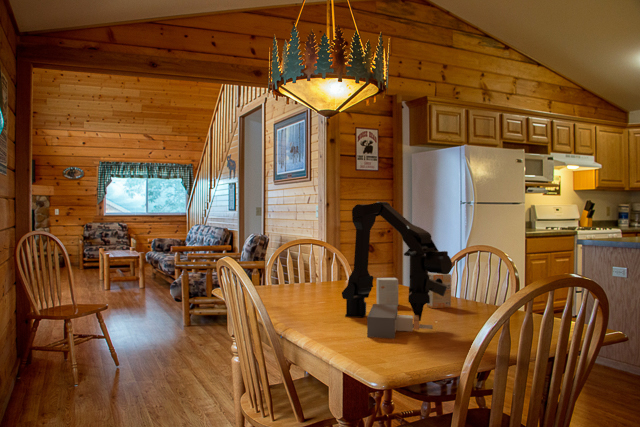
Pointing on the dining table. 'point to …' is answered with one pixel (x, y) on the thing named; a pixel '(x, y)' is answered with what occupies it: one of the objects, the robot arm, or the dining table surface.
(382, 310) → the grey block
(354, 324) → the dining table surface
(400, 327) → the plug
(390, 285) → the small box
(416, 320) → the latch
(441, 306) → the supplement box
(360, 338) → the dining table surface
